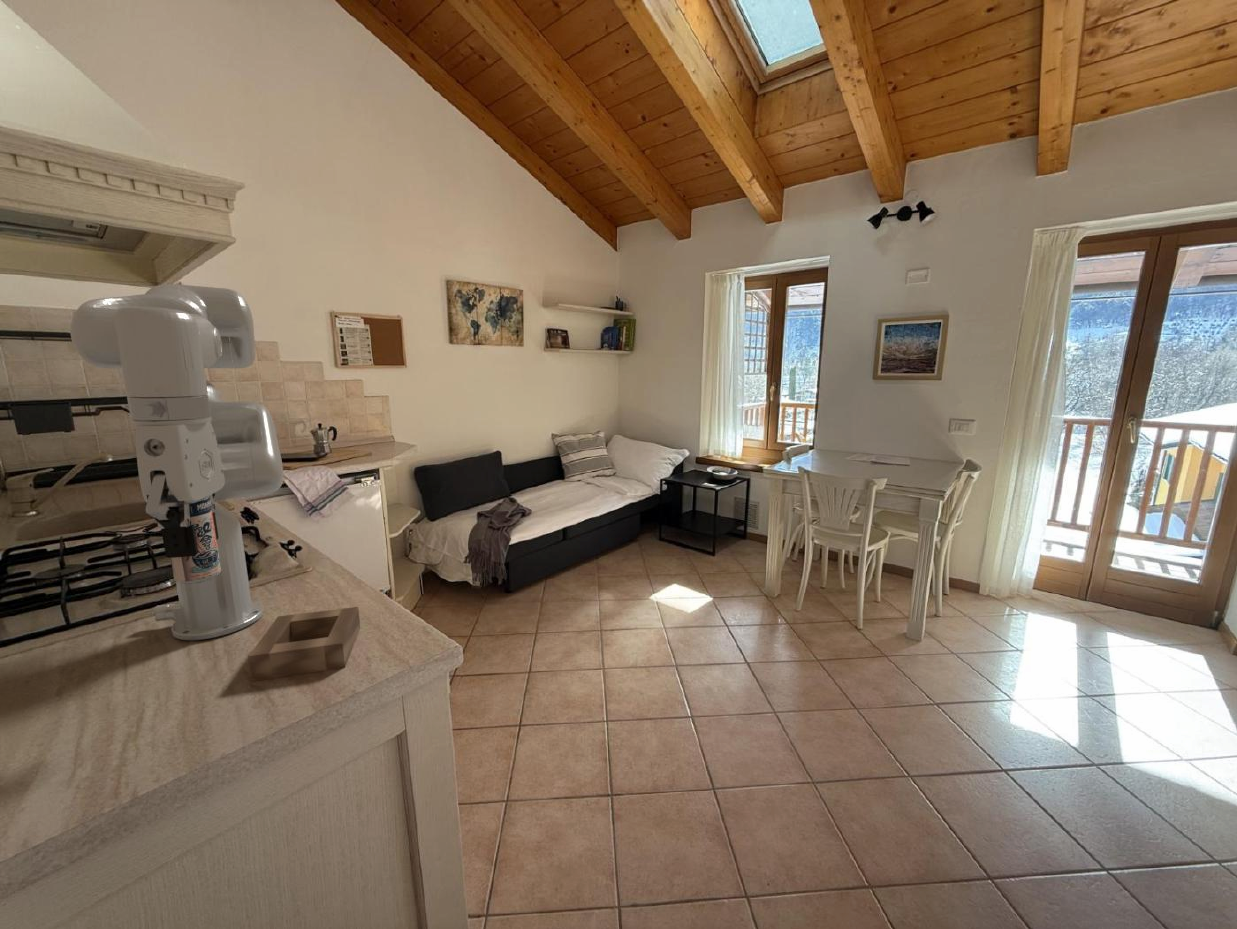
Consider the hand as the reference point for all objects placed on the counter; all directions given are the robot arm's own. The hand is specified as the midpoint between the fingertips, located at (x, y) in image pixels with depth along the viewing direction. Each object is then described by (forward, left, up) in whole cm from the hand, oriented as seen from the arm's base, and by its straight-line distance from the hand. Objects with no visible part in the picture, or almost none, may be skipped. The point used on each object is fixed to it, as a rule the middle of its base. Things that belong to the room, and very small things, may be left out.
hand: (193, 547), depth 65 cm
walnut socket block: (+10, +7, -21) cm, 24 cm away
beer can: (0, 0, -5) cm, 5 cm away
